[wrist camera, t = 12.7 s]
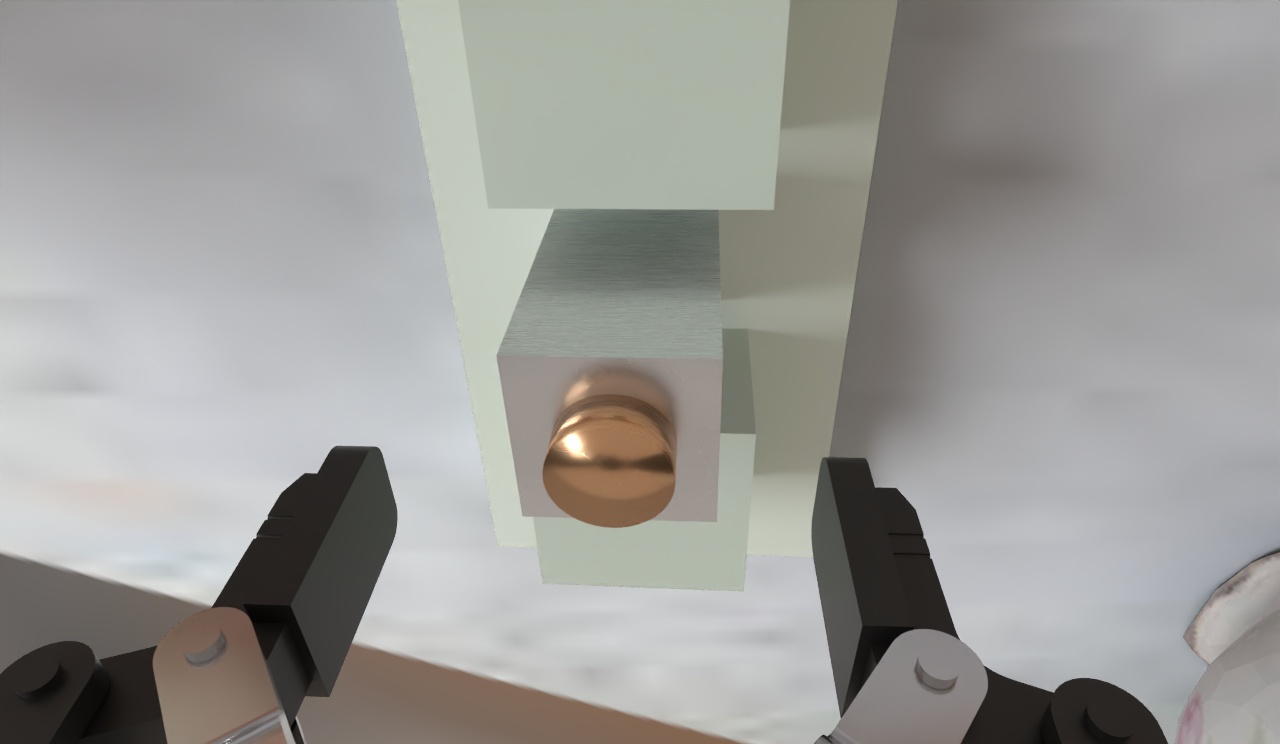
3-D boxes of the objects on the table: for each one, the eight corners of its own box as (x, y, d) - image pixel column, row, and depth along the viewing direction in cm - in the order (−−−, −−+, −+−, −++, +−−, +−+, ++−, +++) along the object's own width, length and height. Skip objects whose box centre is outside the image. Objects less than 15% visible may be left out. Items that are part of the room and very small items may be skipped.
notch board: (511, 500, 32) (464, 659, 26) (405, -140, 19) (267, -122, 13) (806, 509, 31) (831, 677, 25) (897, -154, 19) (990, -142, 12)
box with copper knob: (569, 170, 21) (483, 389, 13) (717, 170, 21) (723, 393, 13) (580, 299, 23) (512, 553, 15) (713, 300, 23) (717, 560, 15)
